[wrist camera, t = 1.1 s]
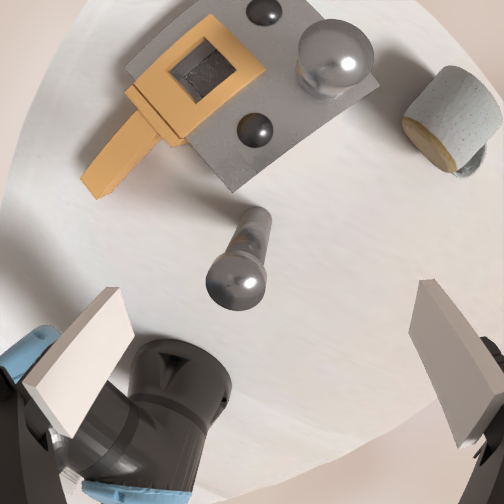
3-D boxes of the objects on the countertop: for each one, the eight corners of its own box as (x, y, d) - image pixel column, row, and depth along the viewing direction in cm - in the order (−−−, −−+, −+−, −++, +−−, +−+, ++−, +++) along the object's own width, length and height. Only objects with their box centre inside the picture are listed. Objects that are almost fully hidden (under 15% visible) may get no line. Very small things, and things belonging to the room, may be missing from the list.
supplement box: (78, 463, 74) (63, 493, 60) (59, 449, 72) (42, 478, 58) (88, 463, 71) (72, 495, 57) (67, 448, 69) (49, 480, 55)
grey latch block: (239, 184, 30) (209, 222, 19) (142, 72, 26) (70, 57, 15) (369, 90, 24) (416, 72, 14) (262, -23, 21) (245, -87, 10)
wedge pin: (254, 245, 32) (232, 319, 20) (231, 217, 31) (193, 279, 19) (283, 224, 31) (277, 292, 19) (259, 195, 30) (238, 246, 18)
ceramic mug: (385, 119, 25) (416, 121, 18) (430, 68, 22) (469, 58, 15) (449, 192, 27) (486, 215, 20) (489, 143, 24) (531, 154, 17)
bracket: (128, 202, 32) (105, 216, 27) (93, 158, 30) (66, 166, 26) (269, 77, 25) (265, 68, 21) (223, 29, 24) (210, 13, 19)
